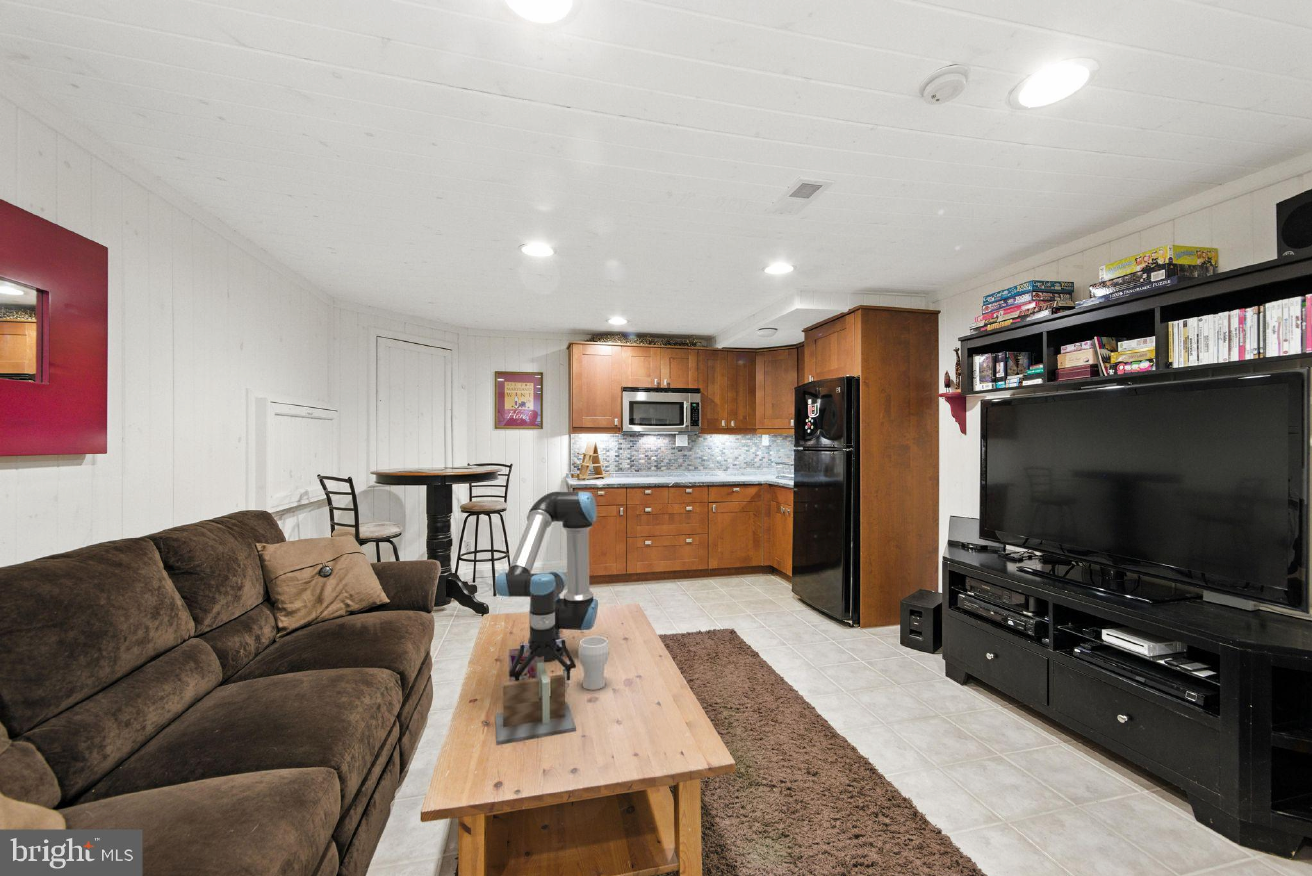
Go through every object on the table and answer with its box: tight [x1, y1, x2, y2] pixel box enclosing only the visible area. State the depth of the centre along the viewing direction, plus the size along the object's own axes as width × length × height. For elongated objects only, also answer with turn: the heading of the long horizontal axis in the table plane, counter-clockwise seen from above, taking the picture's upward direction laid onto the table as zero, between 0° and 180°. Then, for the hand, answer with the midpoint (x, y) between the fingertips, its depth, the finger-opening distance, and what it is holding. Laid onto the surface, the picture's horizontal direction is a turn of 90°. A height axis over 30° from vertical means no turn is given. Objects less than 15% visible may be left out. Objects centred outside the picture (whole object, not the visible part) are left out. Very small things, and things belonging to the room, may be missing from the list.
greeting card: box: [508, 647, 545, 682], centre depth 176 cm, size 11×7×15 cm, turn 70°
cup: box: [577, 635, 610, 691], centre depth 182 cm, size 11×11×15 cm
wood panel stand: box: [494, 673, 577, 745], centre depth 157 cm, size 22×16×13 cm
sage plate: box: [537, 662, 550, 724], centre depth 163 cm, size 15×2×12 cm, turn 19°
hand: (542, 694), depth 163 cm, fingers open, 13 cm apart
